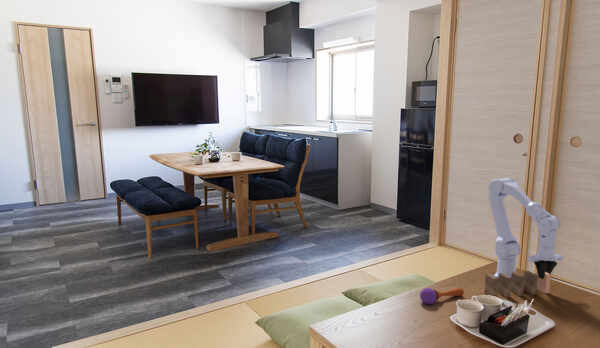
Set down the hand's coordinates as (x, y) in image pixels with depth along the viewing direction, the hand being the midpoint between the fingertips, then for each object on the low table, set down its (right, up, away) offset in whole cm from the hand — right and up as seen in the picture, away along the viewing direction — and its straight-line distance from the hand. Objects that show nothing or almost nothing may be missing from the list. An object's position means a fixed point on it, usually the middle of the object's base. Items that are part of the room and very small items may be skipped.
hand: (543, 277), depth 169 cm
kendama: (-44, -7, -8) cm, 46 cm away
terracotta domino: (0, -6, +1) cm, 6 cm away
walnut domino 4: (-6, -6, 0) cm, 8 cm away
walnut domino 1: (-24, -6, -4) cm, 25 cm away
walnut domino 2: (-18, -6, -3) cm, 19 cm away
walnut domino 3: (-12, -6, -1) cm, 13 cm away
